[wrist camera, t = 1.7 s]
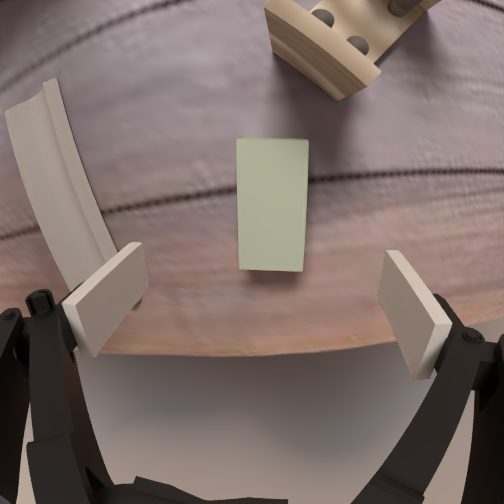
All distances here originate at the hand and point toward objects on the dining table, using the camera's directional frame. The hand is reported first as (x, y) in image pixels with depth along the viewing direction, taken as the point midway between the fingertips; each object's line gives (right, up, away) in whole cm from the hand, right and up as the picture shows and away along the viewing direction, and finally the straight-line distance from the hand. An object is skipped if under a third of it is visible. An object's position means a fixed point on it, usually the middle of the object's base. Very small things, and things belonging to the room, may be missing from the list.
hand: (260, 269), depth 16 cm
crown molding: (-25, +8, +19) cm, 32 cm away
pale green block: (+2, +7, +15) cm, 17 cm away
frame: (+10, +24, +7) cm, 27 cm away
